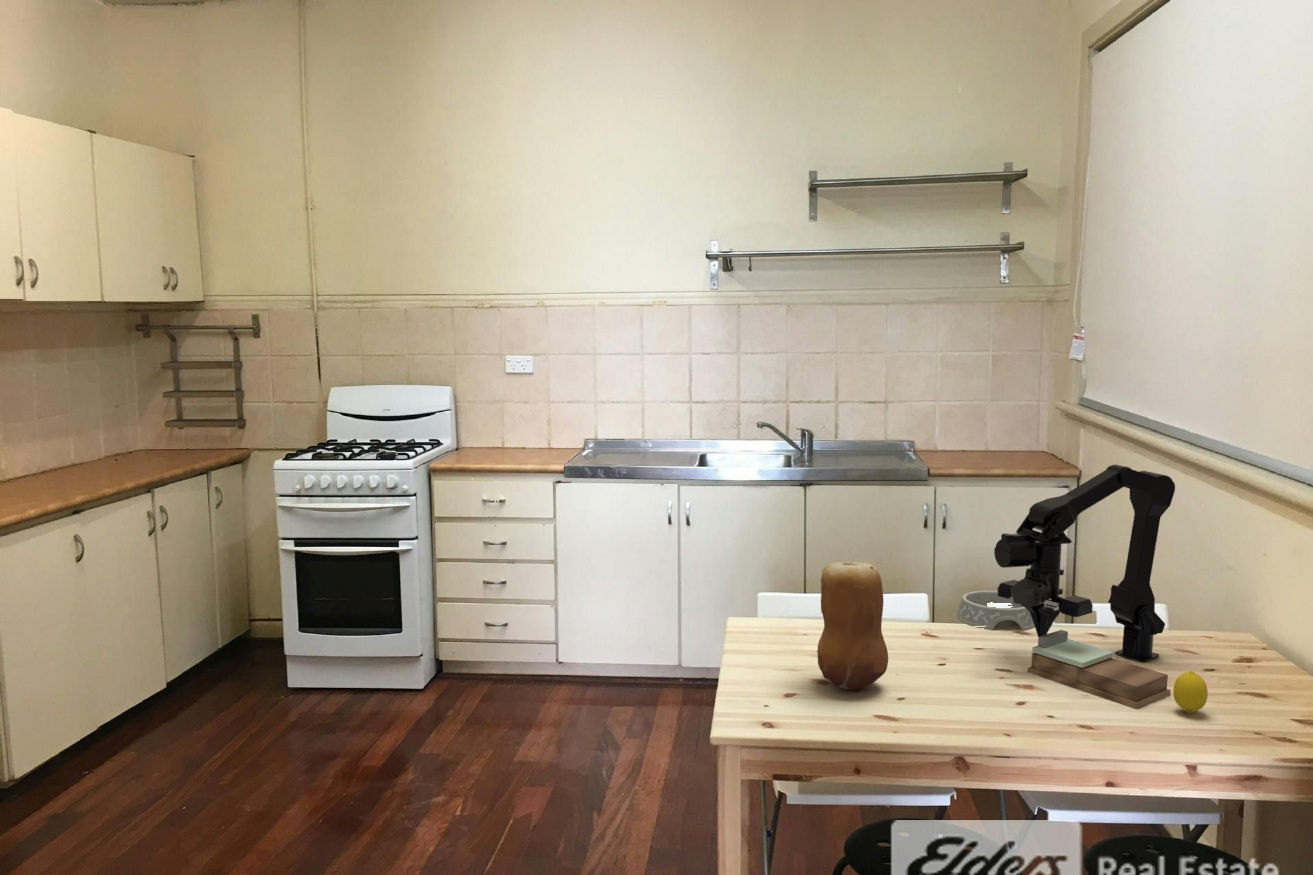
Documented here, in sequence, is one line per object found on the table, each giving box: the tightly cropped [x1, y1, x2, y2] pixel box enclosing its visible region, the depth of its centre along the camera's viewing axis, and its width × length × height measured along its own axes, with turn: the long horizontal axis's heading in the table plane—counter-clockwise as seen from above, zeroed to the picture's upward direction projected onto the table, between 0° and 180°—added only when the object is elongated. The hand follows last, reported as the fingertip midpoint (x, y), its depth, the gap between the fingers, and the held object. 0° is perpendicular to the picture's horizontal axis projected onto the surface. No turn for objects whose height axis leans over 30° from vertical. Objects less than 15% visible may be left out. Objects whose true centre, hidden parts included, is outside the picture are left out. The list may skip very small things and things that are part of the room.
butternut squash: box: [816, 561, 889, 692], centre depth 192 cm, size 14×13×25 cm
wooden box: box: [1027, 652, 1172, 710], centre depth 196 cm, size 23×12×4 cm, turn 35°
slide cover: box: [1031, 629, 1115, 668], centre depth 200 cm, size 11×11×3 cm
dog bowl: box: [956, 590, 1035, 632], centre depth 237 cm, size 17×18×5 cm
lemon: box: [1172, 670, 1209, 714], centre depth 182 cm, size 6×6×8 cm
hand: (1041, 637), depth 206 cm, fingers closed
